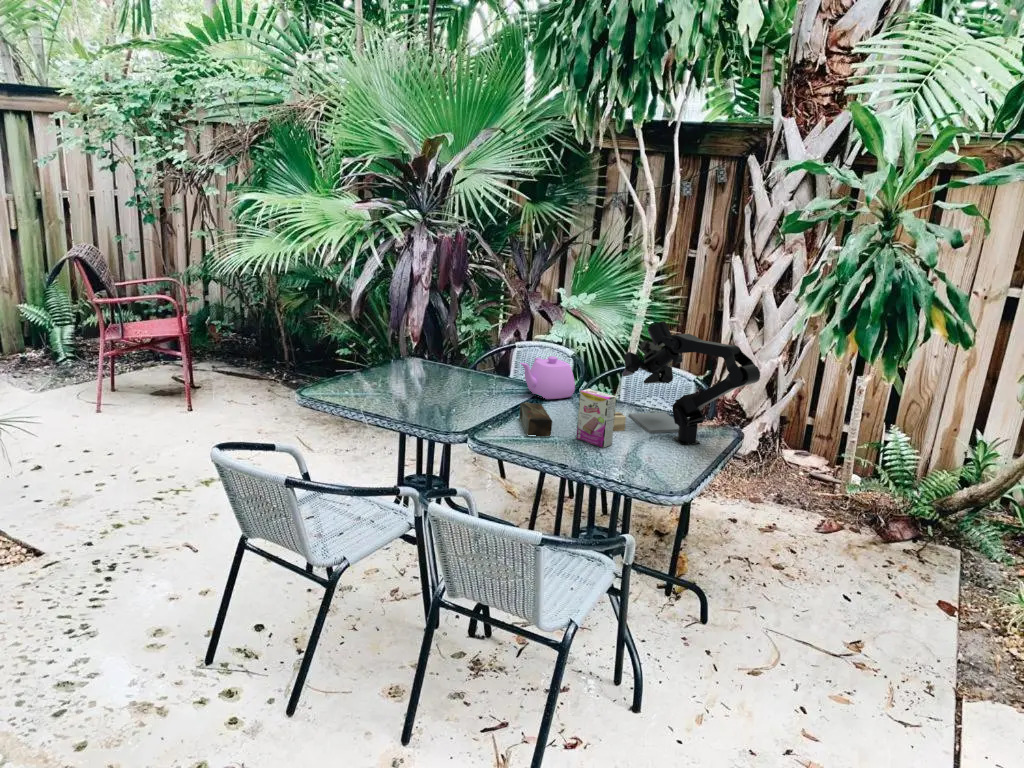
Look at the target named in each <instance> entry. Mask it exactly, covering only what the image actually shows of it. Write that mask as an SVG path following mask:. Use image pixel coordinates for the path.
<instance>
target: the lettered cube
mask: <svg viewBox="0 0 1024 768" xmlns="http://www.w3.org/2000/svg"><path fill="white" fill-rule="evenodd" d="M626 419H627V417H626V415H625V414H623V413H622V412H621V411H618V412H617V411H615V417H614V427H613V432H625V431H626V430H625V428H626V421H627V420H626Z"/></svg>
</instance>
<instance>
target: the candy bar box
mask: <svg viewBox="0 0 1024 768" xmlns="http://www.w3.org/2000/svg"><path fill="white" fill-rule="evenodd" d="M578 398H579V399H578V413H577V426H576V436H575V437H576V438H575V439H577V440H579V441H582V442H584V441H585V443H587V442H588V444H590V443H591V444H590V445H594V446H596V447H599V448H602V447H603V448H602V449H605V448H604V447H606V448H608V447H610V446H612V445H613V437H614V436H613V435H614V431H613V427H614V417H615V412H616V404H617V396H616V395H612V394H609V393H607V392H606V393H605V392H602V391H599V390H596V389H592V388H585V389H581V390H579V397H578ZM607 446H608V447H607Z"/></svg>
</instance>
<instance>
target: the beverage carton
mask: <svg viewBox="0 0 1024 768" xmlns="http://www.w3.org/2000/svg"><path fill="white" fill-rule="evenodd" d="M519 420H520V422H521V425H522V426H523V429H524V432H525V433H526V435H527V434H528V435H536V436H550V435H551V436H552V430H553V429H552V428H553V420H552V419H551V417H550V415H549V414H548V412H547V411H546V409H545V408H544V405H543V404H542V403H535V402H534V403H531V402H528V401H525V402H522V403H521V402H520V406H519ZM528 435H527V436H528ZM551 436H550V437H551Z"/></svg>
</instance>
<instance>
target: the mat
mask: <svg viewBox="0 0 1024 768" xmlns="http://www.w3.org/2000/svg"><path fill="white" fill-rule="evenodd" d="M628 418H630V419H631V420H632V421H633V422H635V423H636V424H637V425H639V426H640V427H641V428H642V429H644V430H645V431H646V432H648V433H649V434H663V433H678V431H679V426H678V424H675V421H674V417H672V416H671V415H669V414H668V413H666V412H665V411H663V412H662V411H661V412H638V413H637V412H636V413H628Z"/></svg>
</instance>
